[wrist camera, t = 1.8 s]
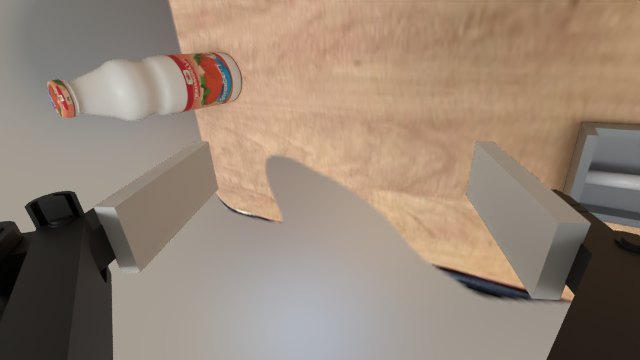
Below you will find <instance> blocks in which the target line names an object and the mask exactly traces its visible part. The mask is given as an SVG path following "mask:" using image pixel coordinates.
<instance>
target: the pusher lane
mask: <svg viewBox="0 0 640 360" xmlns="http://www.w3.org/2000/svg"><path fill="white" fill-rule="evenodd" d="M563 193H564V194H566V195H568V196H570V197H572V198H573V199H574V200H576V201H577V202H578V203H579V204H581V206H583V207H584V208H586V209H587V210H588V211H589V213H592V214H593V215H594V216H596V217H597V218H598V219H600V220H601V221H604V222H609V223H615V224H620V225H625V226H631V227H636V228H640V125H635V124H615V123H595V122H582V124H581V128H580V132H579V135H578V139H577V143H576V146H575V150H574V154H573V157H572V161H571V165H570V168H569V172H568V176H567V179H566V183H565V187H564V190H563Z"/></svg>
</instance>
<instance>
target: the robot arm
mask: <svg viewBox="0 0 640 360" xmlns="http://www.w3.org/2000/svg"><path fill="white" fill-rule="evenodd" d="M217 190H218V185H217V180H216V175H215V170H214V166H213V161H212V156H211V151H210V147H209V142H193V143H192V144H190V145H189V146H187V147H186V148H184V149H183V150H181V151H179V152H178V153H176V154H175V155H173V156H172V157H170V158H168V159H167V160H165V161H164V162H162V163H161V164H159V165H158V166H156V167H154V168H153V169H151V170H150V171H148V172H147V173H145V174H144V175H142V176H140V177H139V178H137V179H136V180H134V181H133V182H131V183H130V184H128V185H126V186H125V187H124V188H122V189H120V190H119V191H117V192H116V193H114V194H112V195H111V196H109V197H108V198H106V199H105V200H103V201H102V202H100V203H99V204H97V205H95V206H94V208H92V209H91V210H89V211H88V212H86V213H85V214H84V212H83V210H82V207H81V205H80V203H79V201H78V198H77V196H76V194H75V192H72V191H62V192H56V193H52V194H48V195H44V196H42V197H39V198H37V199H34V200H33V201H31V202H29V203H28V204H27V205H26V206H25V209H26V210H27V212H28V214H29V216H30V218H31V220H32V221H33V223H34V225H35V227H36V231H33V232H27V233H21V232H20V230H19V229H18V227H17V225H16V224H15V222H12V221H4V222H0V360H113V335H112V285H111V272H110V270H109V268H108V265H109V264H110V263H111V262H112V261H113V260H114V259H115V258H116V261H117V263H118V265H119V268H120V270H121V272H137V273H140V272H141V271H142V270H143V269H144V268H145V267H146V266H147V265H148V264H149V263H150V262H151V260H152V259H153V258H154V257H155V256H156V255H157V254H158V253H159V252H160V251H161V250H162V249H163V248H164V246H165V245H166V244H167V243H168V242H169V241H170V240H171V239H172V238H173V237H174V236H175V235H176V234H177V232H179V230H180V229H181V228H182V227H183V226H184V225H185V224H186V223H187V222H188V221H189V220H190V219H191V217H192V216H193V215H194V214H195V213H196V212H197V211H198V210H199V209H200V208H201V207H202V206H203V205H204V204H205V203H206V202H207V200H208V199H209V198H210V197H211V196H212V195H213V194H214V193H215V192H216V191H217ZM466 195H467V197H468V198H469V200H470V201H471V203H472V205H473V206H474V208H475V209H476V211H477V212H478V214H479V216H480V217H481V219H482V220H483V222H484V223H485V225H486V227H487V228H488V230H489V231H490V233H491V234H492V236H493V238H494V239H495V241H496V242H497V244H498V246H499V247H500V249H501V250H502V252H503V253H504V255H505V257H506V258H507V260H508V261H509V263H510V264H511V266H512V268H513V269H514V271H515V272H516V274H517V276H518V277H519V279H520V280H521V282H522V283H523V285H524V287H525V288H526V290H527V291H528V293H529V294H530V296H531V298H537V299H552V300H560V297H561V295H562V293H563V290H564V288H565V285H567V286H568V287H569V289H570V290H571V291H572V292H573V294H574V295H575V296H574V298H573V300H572V302H571V305H570V307H569V309H568V312H567V314H566V316H565V319H564V321H563V323H562V325H561V328H560V330H559V332H558V335H557V337H556V339H555V341H554V344H553V346H552V348H551V350H550V353H549V355H548V357H547V360H640V235H637V234H633V233H629V232H624V231H613V230H612V229H611V228H610V227H608V226H607V225H606V224H605V223H603V222H602V221H601V220H600V219H598V218H597V217H596V216H594V215H593V214H592V213H589V211H588V210H587V209H586V208H584V207H583V206H581V204H579V203H578V202H577V201H576V200H574V199H573V198H572V197H570V196H568V195H566V194H564V193H562V192H560V191H558V190H551V189H549V188H548V187H547V186H546V185H545V184H543V183H542V182H541V181H540V180H539V179H538V178H536V177H535V176H534V175H533V174H532V173H530V172H529V171H528V170H527V169H526V168H524V167H523V166H522V165H521V164H520V163H518V162H517V161H516V160H515V159H514V158H512V157H511V156H510V155H509V154H508V153H506V152H505V151H504V150H503V149H502V148H501V147H499V146H498V145H497V144H496V143H495V142H476V145H475V150H474V155H473V161H472V166H471V171H470V177H469V182H468V187H467V192H466Z"/></svg>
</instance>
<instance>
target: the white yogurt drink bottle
mask: <svg viewBox="0 0 640 360" xmlns="http://www.w3.org/2000/svg"><path fill="white" fill-rule="evenodd" d="M47 90H48V94H49V97H50V100H51V102H52V104H53V106H54V108H55V109H56V111H57V112H58V114H59V115H60V116H61V117H63V118H73V117H76V116H79V114H92V115H102V116H109V117H115V118H119V119H122V120H127V121H137V120H142V119H145V118H147V117H148V116H151V115H153V114H159V115H169V114H177V113H181V112H185V111H190V110H195V109H200V108H204V107H209V106H214V105H219V104H223V103H228V102H231V101H233V100H235V99H236V98H237V97H238V95H239V94H240V91H241V75H240V72H239V69H238V67H237V65H236V63H235V62H234V60H233V59H232V58H231V57H230V56H228V55H226V54H224V53H198V54H180V55H159V56H151V57H146V58H143V59H141V60H140V61H133V60H128V59H113V60H109V61H107V62H105V63H104V64H103V65H101V66H100V67H99V68H97V69H95V70H93V71H91V72H89V73H87V74H85V75H83V76H80V77H78V78H76V79H74V80H72V81H66V80H52V81H49V82H48V83H47Z"/></svg>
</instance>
